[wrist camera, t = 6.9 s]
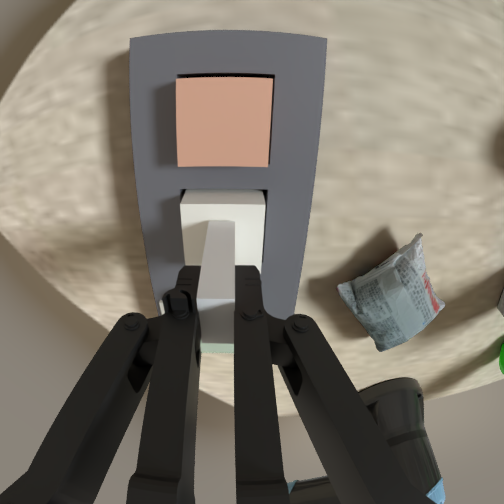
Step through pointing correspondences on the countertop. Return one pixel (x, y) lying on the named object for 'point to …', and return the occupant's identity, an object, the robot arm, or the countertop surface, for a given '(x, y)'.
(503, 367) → the plastic bottle
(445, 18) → the countertop surface
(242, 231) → the cream key
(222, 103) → the terracotta key
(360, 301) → the packaged food
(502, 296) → the skincare box
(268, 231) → the keypad board
